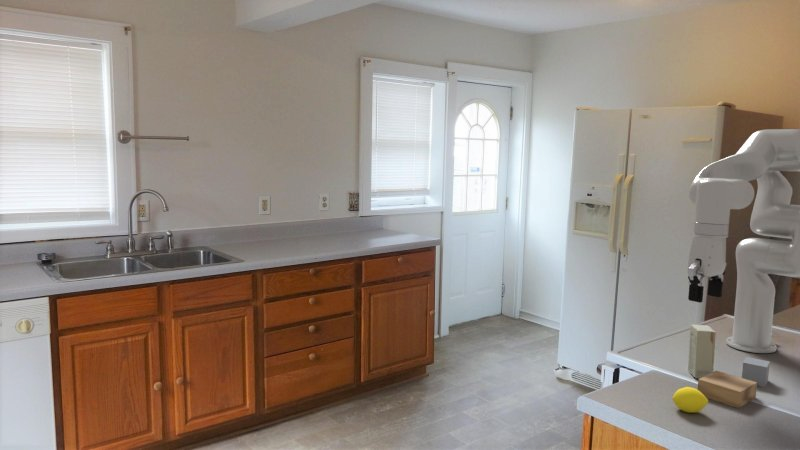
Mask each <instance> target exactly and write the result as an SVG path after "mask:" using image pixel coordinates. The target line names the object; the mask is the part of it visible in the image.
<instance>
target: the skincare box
mask: <svg viewBox="0 0 800 450" xmlns="http://www.w3.org/2000/svg"><path fill="white" fill-rule="evenodd" d="M689 330H690V331H689V346H688V362H687V371H688V370H689V371H688V372H689V374H690V375H691V374H692V375H693V376H694V377H695V378H694V377H693V378H694V379H700V378H702V377H704V376H706V375H708V374H710V373H712V372H714V366H715V365H714V363H715V349H716V348H715V347H716V346H715V345H716V334H717V333H716V331H715V330H714V329H713V328H712V327H711V326H709V325H705V324H690V329H689ZM692 375H691V376H692Z"/></svg>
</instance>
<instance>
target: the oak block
mask: <svg viewBox="0 0 800 450" xmlns="http://www.w3.org/2000/svg"><path fill="white" fill-rule="evenodd" d="M697 379H698V380H697V381H698V382H697V390H699V391H700V392H701V393H702V394H703V395H704V396H705V397H706V398H707V399H709V400H713V401H715V402H718V403H719V402H720V403H722V404H725V405H727V406H732V407H734V408H737V409H740V408H741V407H743V406H744V405H746V404H748V403H750V402H751V401H753V400H755V399H756V398H757V388H758V385H757V382H754V381H751V380H747V379H744V378H742V377H739V376H736V375H733V374H729V373H725V372H724V371H719V370H713V372H712V373H710V374H708V375H706V376H704V377H702V378H697ZM755 397H756V398H755ZM754 398H755V399H754Z"/></svg>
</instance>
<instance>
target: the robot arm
mask: <svg viewBox="0 0 800 450" xmlns="http://www.w3.org/2000/svg"><path fill="white" fill-rule="evenodd" d="M782 172H800V129H797V128H781V129H780V128H779V129H778V128H776V129H774V128H771V129H770V128H769V129H767V128H766V129H761V130H757V131H755V132H752V134H751V135H750V136H749V137H748V138H747V139H746V140H745V142H744V143H743V144H742V145H741V147H740V148H739V149H738V151H736V153H735V154H733V155H729V156H727V157H725V158H724V157H723V158H722V159H719V160H718V161H714V162H712V163H709V164H708V165H707V166H705V167H703V169H701V171H700V172H698V174H697V175H696V176H695V178H694V179H693V180H692V183H691V185H690V187H689V191H688V192H689V193H688V197H689V200H690V201H691V203H692V204H694V205H695V209H694V210H695V212H694V220H693V221H694V222H693V233H692V234H693V235H692V236H693V237H692V239H691V245H690V249H689V255H688V263H687V270H686V271H687V274H688V276H687V278H688V285H689V287H688V297H687V298H688V301H689V302H696V303H699V304H700V303H703V301H704V300H703V299H704V298H703V297H704V288H705V286H703V284H704V281H705V280H706V279H708V278H710V279H708V287H707V295H708V296H710V297H715V298H721V297H722V296H723V295H722V294H723V285H724V281H725V277H724V275H725V274H726V268H727V265H728V263H727V261H726V260H727V259H726V257H727V238H729V228H730V216H731V210H742V209H746V208H747V207H749V206H750V205H751V204H752V202H753V201H754V203H753V209H752V212H751V216H750V221H749V222H750V223H749V226H750V227H749V228H750V230H751V231H752V233H754V234H756V235H759V236H764V237H773V238H782V239H789V240H791V241H785V240H779V239H778V240H777V239H769V238H761V237H748V238H745V239H742V240H740V241H739V242H738V243H737V245H736V249H735V261H736V263H735V264H736V272H737V274H736V276H737V277H736V289H735V291H736V293H735V301H734V302H735V303H734V314H733V326H732V335H731V336H728V337H727V338H726V339H725V344H726V345H727V346H729V347H731V348H733V349H736V350H740V351H744V352H748V353H749V352H750V353H754V354H755V353H756V354H772V353H775V352H777V344H775V343H773V342H772V336H773V334H774V331H773V330H772V329H773V320H774V318H773V317H774V310H775V309H774V308H775V301H776V300H775V297H776V287H775V283H774V282H773V280H772V278H771V277H770V276H769V275H776V276H777V275H778V276H784V277H791V278H797V277H798V278H800V204H791V202H792V201H791V199H792V196H793V187H792V185H791V184H790V182H789V180H788V179H787V178H786V177H785V176H784V175H783V174H782ZM755 180H756V181H757V191H756V195H755V189H754V187H753V185H752V183H751V182H752V181H755ZM750 181H751V182H750ZM754 198H755V200H754Z"/></svg>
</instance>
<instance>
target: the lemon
mask: <svg viewBox="0 0 800 450" xmlns="http://www.w3.org/2000/svg"><path fill="white" fill-rule="evenodd" d="M672 401H673V402H674V404H675V405H676V407H677V408H678V409H679V410H681V411H683V412H685V413H690V414H691V413H692V414H694V413H699V412H700V411H702V410H703V409H704V408H705V407H706V406H707V404H709V398H707V397H705V396H704V395H703V394H702V393H701V392H700V391H699V390H698V388H695V387H692V386H691V387H690V386H685V387H681V388H679V389H677V390H676V391H675V392H674V394H673V396H672Z"/></svg>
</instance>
